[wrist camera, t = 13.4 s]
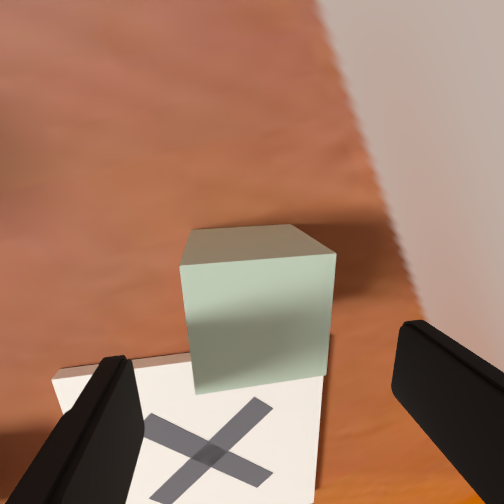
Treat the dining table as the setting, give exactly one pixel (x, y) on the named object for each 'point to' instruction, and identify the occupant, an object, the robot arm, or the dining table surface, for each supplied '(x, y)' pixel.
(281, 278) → the sage green cube
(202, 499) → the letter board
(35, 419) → the dining table surface
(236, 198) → the dining table surface
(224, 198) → the dining table surface
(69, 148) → the dining table surface
